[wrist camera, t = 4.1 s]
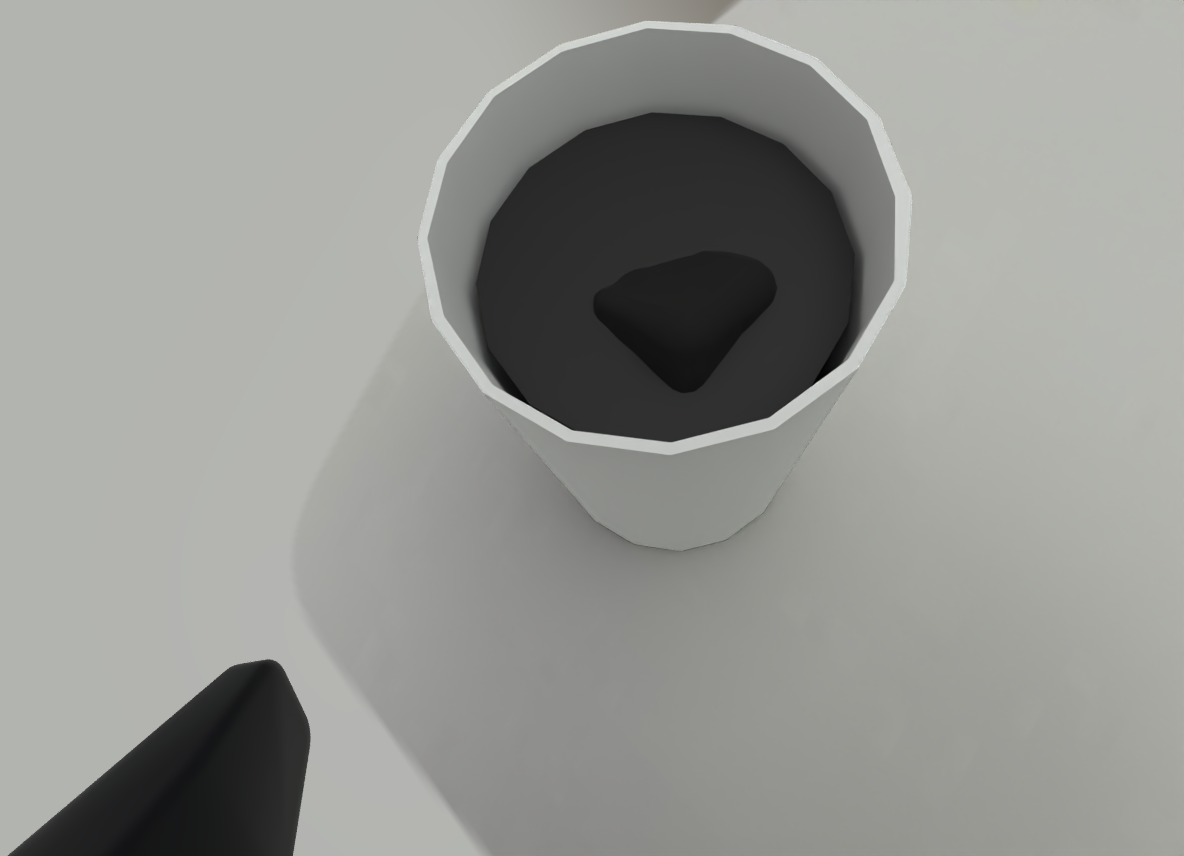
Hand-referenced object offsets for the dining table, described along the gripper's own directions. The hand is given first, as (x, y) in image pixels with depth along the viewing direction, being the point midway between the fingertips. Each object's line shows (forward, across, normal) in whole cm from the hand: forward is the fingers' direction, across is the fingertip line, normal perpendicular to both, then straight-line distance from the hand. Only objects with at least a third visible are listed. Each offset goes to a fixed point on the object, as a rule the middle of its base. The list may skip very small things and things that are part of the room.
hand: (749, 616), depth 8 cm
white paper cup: (+12, 0, +5) cm, 13 cm away
